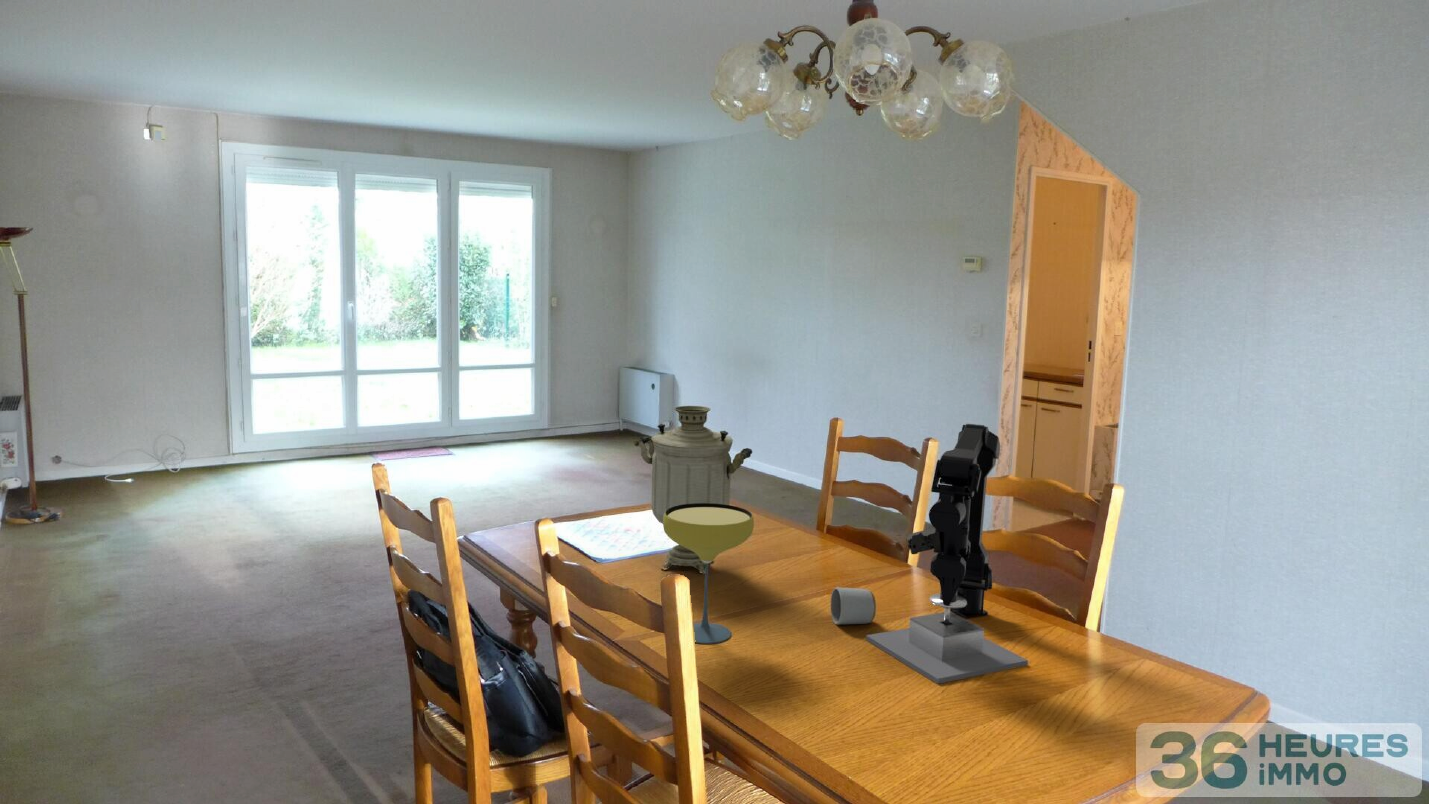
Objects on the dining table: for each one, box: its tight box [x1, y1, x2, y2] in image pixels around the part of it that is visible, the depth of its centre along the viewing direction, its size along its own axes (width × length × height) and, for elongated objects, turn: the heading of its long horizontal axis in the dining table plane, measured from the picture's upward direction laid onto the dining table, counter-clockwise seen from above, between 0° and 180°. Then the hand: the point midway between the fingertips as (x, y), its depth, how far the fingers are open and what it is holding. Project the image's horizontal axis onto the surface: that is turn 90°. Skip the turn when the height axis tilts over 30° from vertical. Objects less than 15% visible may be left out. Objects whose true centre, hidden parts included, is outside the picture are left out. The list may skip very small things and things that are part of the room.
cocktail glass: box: [662, 503, 755, 645], centre depth 185 cm, size 18×18×25 cm
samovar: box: [633, 405, 753, 573], centre depth 230 cm, size 30×26×40 cm
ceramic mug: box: [830, 586, 877, 626], centre depth 197 cm, size 11×8×8 cm
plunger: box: [929, 588, 967, 626], centre depth 180 cm, size 7×7×8 cm
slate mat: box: [865, 627, 1029, 685], centre depth 181 cm, size 22×22×1 cm
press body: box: [908, 611, 985, 661], centre depth 181 cm, size 10×10×5 cm
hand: (948, 597), depth 180 cm, fingers open, 9 cm apart
